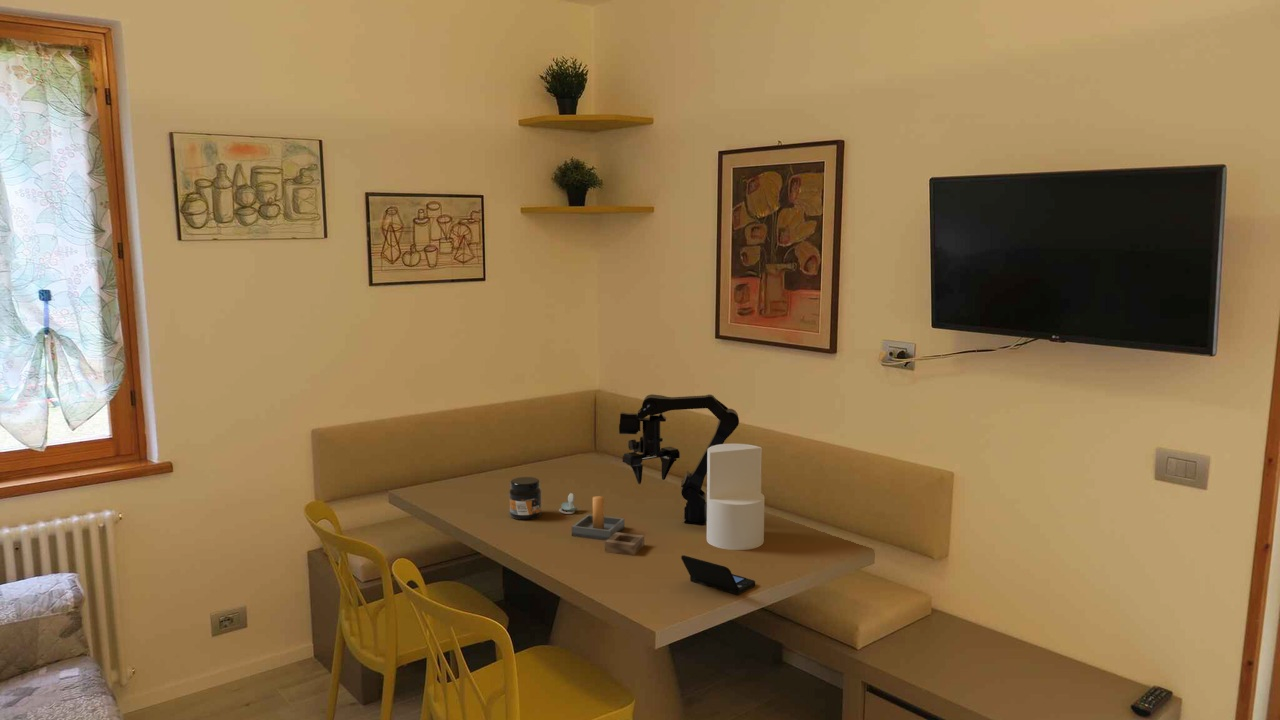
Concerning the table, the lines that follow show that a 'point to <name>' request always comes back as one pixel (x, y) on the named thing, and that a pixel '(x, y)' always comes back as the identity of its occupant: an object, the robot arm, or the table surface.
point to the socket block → (624, 543)
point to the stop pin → (598, 512)
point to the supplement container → (525, 498)
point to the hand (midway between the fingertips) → (651, 481)
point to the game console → (716, 576)
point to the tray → (587, 531)
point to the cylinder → (734, 497)
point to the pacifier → (568, 505)
